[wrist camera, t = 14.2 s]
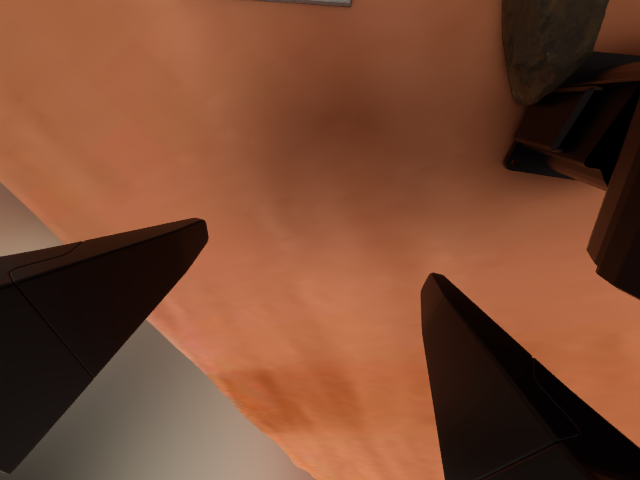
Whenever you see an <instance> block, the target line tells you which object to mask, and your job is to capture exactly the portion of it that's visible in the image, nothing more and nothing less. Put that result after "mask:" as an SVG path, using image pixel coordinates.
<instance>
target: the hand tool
mask: <svg viewBox="0 0 640 480" xmlns="http://www.w3.org/2000/svg"><path fill="white" fill-rule="evenodd" d="M608 2H609V0H503V1H502V30H503V44H504V50H505V58H506V65H507V71H508V77H509V81H510V84H511V88H512V93H513V97H514V100H515V102H516V103H517V104H521V105H531V104H534V103H537V102H539V101H540V100H541V99H542V98H543V97H544V96H546V95H547V94H549V93H551V92H552V91H554V90H555V89H556V88H557V87H558V86H559V85H560V84H561V83H563V82H564V81H565V80H566V79H567V78H568V77H569V76H571V75H572V74H573V73H574V72H575V71H576V70H577V69H578V68H579V67H580V66H581V65H582V64H583V63H584V62H585V61H586V60H587V59H588V58H590V57H591V56H592V53H593V48H594V45H595V42H596V40H597V37H598V33H599V31H600V28H601V24H602V22H603V19H604V16H605V10H606V7H607V5H608Z"/></svg>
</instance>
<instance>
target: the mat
mask: <svg viewBox="0 0 640 480" xmlns="http://www.w3.org/2000/svg"><path fill="white" fill-rule="evenodd" d="M261 1H276V2H291V3H305V4H320V5H335V6H349V7H351V1H352V0H261Z"/></svg>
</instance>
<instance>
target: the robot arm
mask: <svg viewBox="0 0 640 480" xmlns="http://www.w3.org/2000/svg"><path fill="white" fill-rule="evenodd" d="M514 138H515V141H514V143H513V145H512V147H511V149H510V150H509V152H508V154H507V156H506V158H505V160H504V163H503V165H504V167H505V168H506V169H508V170H512V171H519V172H526V173H532V174H539V175H546V176H552V177H559V178H566V179H573V180H579V181H581V182H584V183H586V184H589V185H592V186H594V187H597V188H599V189H602V190H604V191H606V194H605V197H604V199H603V202H602V205H601V208H600V211H599V214H598V217H597V220H596V222H595V225H594V228H593V231H592V234H591V237H590V240H589V243H588V247H587V251H588V253H589V255H590V256H591V258H592V260H593V261H594V263H595V264H596V265H597V269H596V271H595V272H596V273H597V274H598V275H599V276H601V277H602V278H603V279H605V280H606V281H608V282H609V283H610V284H612V285H613V286H615V287H616V288H618V289H619V290H621V291H623V292H625V293H627V294H629V295H631V296H633V297H635V298H637V299H639V300H640V56H637V55H625V54H613V53H600V52H593V53H592V56H591V57H590V58H588V59H587V60H586V61H585V62H584V63H583V64H582V65H581V66H580V67H579V68H578V69H577V70H576V71H575V72H574V73H573V74H572V75H571V76H569V77H568V78H567V79H566V80H565V81H564V82H563V83H561V84H560V85H559V86H558V87H557V88H556V89H555V90H554V91H552V92H551V93H549V94H547V95H546V96H544V97H543V98H542V99H541V100H540V101H539V102H537V103H534V104H531V105H530V107H529V108H528V110H527V112H526V114H525V116H524V118H523V120H522V122H521V124H520V126H519V128H518V129H517V131H516V133H515V135H514ZM514 159H516V163H515V164H513V165H510V163H511V161H512V160H514ZM207 242H208V231H207V225H206V222H205V221H204V220H203V219H198V218H190V219H186V220H181V221H176V222H171V223H167V224H162V225H157V226H152V227H147V228H143V229H138V230H133V231H128V232H124V233H119V234H114V235H109V236H104V237H100V238H95V239H90V240H85V241H84V242H82V241H80V242H76V243H71V244H66V245H62V246H56V247H51V248H46V249H41V250H35V251H30V252H24V253H19V254H13V255H8V256H2V257H0V471H1V472H3V473H6V474H11V473H12V472H13V471H14V470H15V469H16V468H17V467H18V466H19V465H20V464H21V462H22V461H23V460H24V459H25V458H26V457H27V456H28V454H29V453H30V452H31V451H32V450H33V449H34V448H35V446H36V445H37V444H38V443H39V442H40V441H41V439H42V438H43V437H44V436H45V435H46V434H47V433H48V431H49V430H50V429H51V428H52V426H54V424H55V423H56V422H57V421H58V420H59V419H60V418H61V416H62V415H63V414H64V413H65V412H66V410H67V409H68V408H69V407H70V406H71V405H72V404H73V403H74V401H75V400H76V399H77V398H78V397H79V396H80V394H81V393H82V392H83V391H84V390H85V388H87V386H88V385H89V384H90V383H91V382H92V381H93V378H95V377H96V376H97V374H98V373H99V372H100V371H101V370H102V369H103V368H104V366H105V365H106V364H107V363H108V362H109V361H110V360H111V358H112V357H113V356H114V355H115V354H116V353H117V351H118V350H119V349H120V348H121V347H122V346H123V345H124V343H125V342H126V341H127V340H128V339H129V338H130V336H131V335H132V334H133V333H134V332H135V331H136V330H137V328H138V327H139V326H140V325H141V324H142V323H143V322H144V320H145V319H146V318H147V317H148V316H149V315H150V313H151V312H152V311H153V310H154V309H155V308H156V307H157V305H158V304H159V303H160V302H161V301H162V300H163V298H164V297H165V296H166V295H167V294H168V293H169V292H170V290H171V289H172V288H173V287H174V286H175V285H176V283H177V282H178V281H179V280H180V279H181V278H182V277H183V275H184V274H185V273H186V272H187V270H188V269H189V268H190V266H191V265H192V264H193V262H194V261H195V259H196V258H197V256H198V255H199V254H200V252H201V251H202V249H203V248H204V246H205V245H206V244H207ZM421 321H422V335H423V342H424V348H425V355H426V361H427V368H428V374H429V381H430V387H431V393H432V400H433V406H434V413H435V419H436V425H437V432H438V438H439V445H440V451H441V458H442V464H443V470H444V477H445V480H640V448H639V447H638V446H637V445H636V444H634V443H633V442H632V441H631V440H630V439H628V438H627V437H626V436H625V435H624V434H622V433H621V432H620V431H619V430H618V429H616V428H615V427H614V426H613V425H612V424H610V423H609V422H608V421H607V420H605V419H604V418H603V417H602V416H601V415H599V414H598V413H597V412H596V411H595V410H594V409H592V408H591V407H590V406H589V405H588V404H586V403H585V402H584V401H583V400H582V399H580V398H579V397H578V396H577V395H576V394H575V393H573V392H572V391H571V390H570V389H569V388H568V387H566V386H565V385H564V384H563V383H562V382H561V381H560V380H559V379H557V378H556V377H555V376H554V375H553V374H552V373H551V372H549V371H548V370H547V369H546V368H545V367H544V366H543V365H542V364H541V363H540V362H539V361H537V360H536V359H535V358H532V355H531V354H530V353H529V352H527V351H526V350H525V349H524V348H523V347H522V346H521V345H520V344H519V343H517V342H516V341H515V340H514V339H513V338H512V337H511V336H510V335H509V334H508V333H506V332H505V331H504V330H503V329H502V328H501V327H500V326H499V325H498V324H497V323H495V322H494V321H493V320H492V319H491V318H490V317H489V316H488V315H487V314H486V313H484V312H483V311H482V310H481V309H480V308H479V307H478V306H477V305H476V304H475V303H473V302H472V301H471V300H470V299H469V298H468V297H467V296H466V295H465V294H464V293H462V292H461V291H460V290H459V289H458V288H457V287H456V286H455V285H454V284H452V283H451V282H450V281H449V280H448V279H447V278H446V277H445V276H444V275H441V274H437V273H430V274H429V276H428V278H427V280H426V281H425V283H424V285H423V287H422V290H421Z"/></svg>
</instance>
